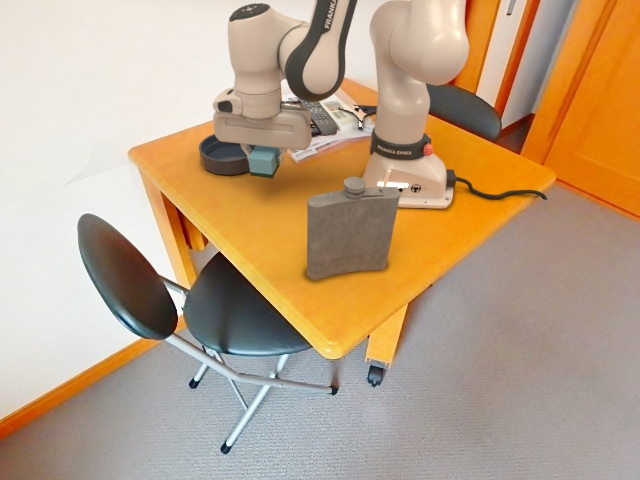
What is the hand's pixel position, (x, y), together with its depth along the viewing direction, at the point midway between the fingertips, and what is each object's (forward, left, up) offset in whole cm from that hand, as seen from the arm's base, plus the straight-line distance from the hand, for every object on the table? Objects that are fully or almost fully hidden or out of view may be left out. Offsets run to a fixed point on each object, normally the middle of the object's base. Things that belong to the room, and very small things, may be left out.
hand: (266, 161), depth 87 cm
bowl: (+15, -14, -10) cm, 22 cm away
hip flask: (-22, +18, -10) cm, 30 cm away
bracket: (-15, -47, -10) cm, 50 cm away
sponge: (0, 0, -2) cm, 2 cm away
